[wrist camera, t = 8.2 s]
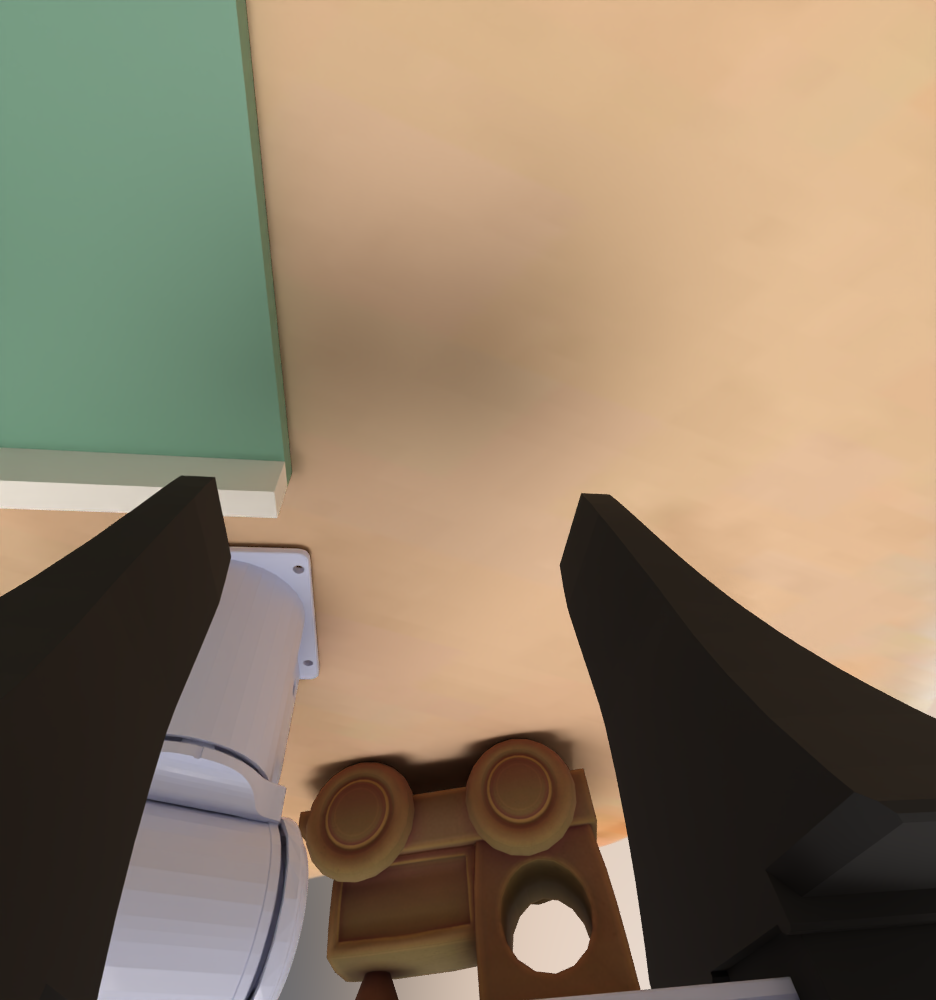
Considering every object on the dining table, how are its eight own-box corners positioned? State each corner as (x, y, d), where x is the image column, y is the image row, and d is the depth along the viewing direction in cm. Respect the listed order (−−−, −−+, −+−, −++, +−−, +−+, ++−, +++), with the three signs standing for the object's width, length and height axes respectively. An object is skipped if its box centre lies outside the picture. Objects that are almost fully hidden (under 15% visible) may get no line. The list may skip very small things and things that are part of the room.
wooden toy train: (587, 717, 36) (691, 1081, 22) (588, 793, 43) (668, 1106, 29) (296, 763, 36) (229, 1147, 23) (344, 831, 43) (314, 1156, 30)
